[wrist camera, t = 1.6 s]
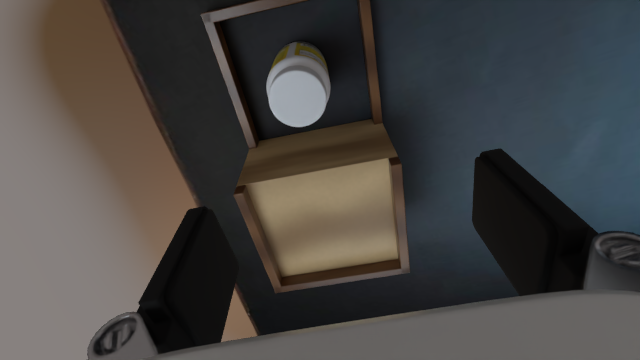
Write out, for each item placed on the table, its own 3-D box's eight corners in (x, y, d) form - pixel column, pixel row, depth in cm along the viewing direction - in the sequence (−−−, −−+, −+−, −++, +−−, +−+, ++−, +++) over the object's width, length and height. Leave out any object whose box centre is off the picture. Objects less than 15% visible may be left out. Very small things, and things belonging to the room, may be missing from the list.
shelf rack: (205, 11, 26) (161, 27, 18) (364, -27, 25) (387, -27, 17) (282, 229, 39) (275, 293, 31) (389, 211, 38) (410, 272, 30)
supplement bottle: (281, 99, 30) (271, 137, 23) (267, 47, 28) (252, 72, 21) (331, 89, 30) (337, 125, 23) (322, 35, 27) (325, 57, 20)
